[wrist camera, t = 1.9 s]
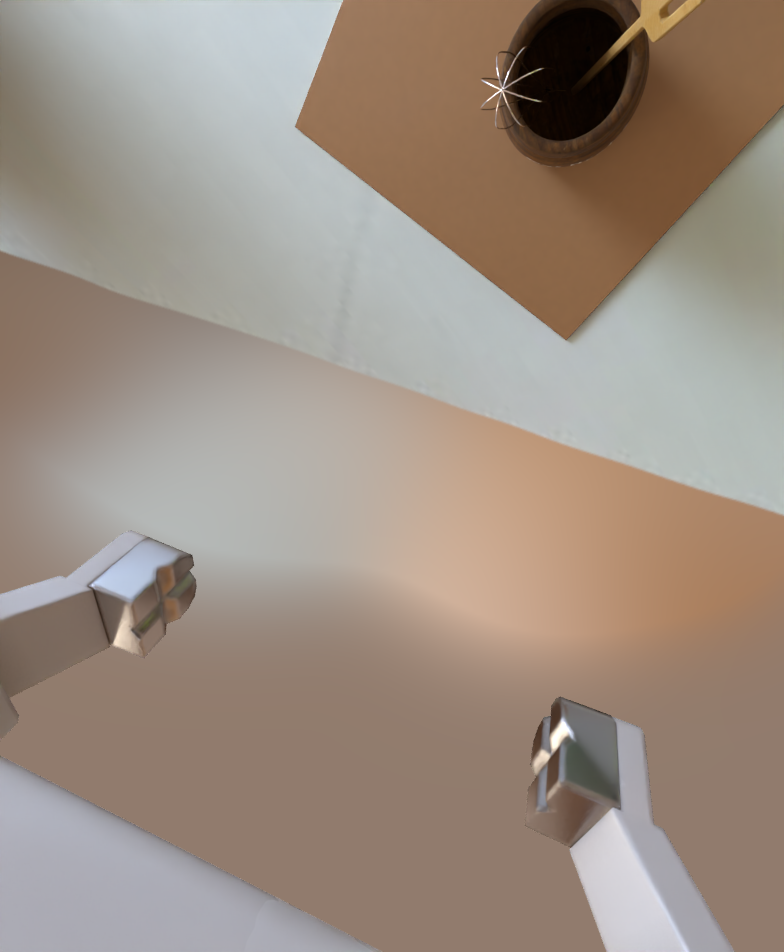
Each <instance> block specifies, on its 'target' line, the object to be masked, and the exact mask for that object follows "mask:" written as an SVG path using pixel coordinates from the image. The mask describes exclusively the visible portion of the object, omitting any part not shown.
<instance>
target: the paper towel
mask: <svg viewBox="0 0 784 952" xmlns="http://www.w3.org/2000/svg"><path fill="white" fill-rule="evenodd" d="M539 1H540V0H343V2H342V5H341V7H340V10H339V13H338V15H337V18H336V20H335V23H334V26H333V28H332V31H331V34H330V36H329V39H328V41H327V44H326V47H325V49H324V52H323V55H322V57H321V60H320V62H319V65H318V68H317V70H316V73H315V76H314V78H313V81H312V83H311V86H310V89H309V91H308V94H307V97H306V99H305V102H304V105H303V107H302V110H301V112H300V115H299V118H298V120H297V123H296V126H295V127H296V128H297V129H298V130H300V131H301V132H302V133H304V134H305V135H306V136H307V137H309V138H310V139H311V140H312V141H314V142H315V143H316V144H318V145H319V146H320V147H321V148H323V149H324V150H325V151H326V152H328V153H329V154H330V155H332V156H333V157H334V158H335V159H337V160H338V161H339V162H340V163H342V164H343V165H344V166H345V167H347V168H348V169H349V170H351V171H352V172H353V173H354V174H356V175H357V176H358V177H359V178H361V179H362V180H363V181H365V182H366V183H367V184H368V185H370V186H371V187H372V188H373V189H375V190H376V191H377V192H379V193H380V194H381V195H382V196H384V197H385V198H386V199H387V200H389V201H390V202H391V203H392V204H394V205H395V206H396V207H398V208H399V209H400V210H401V211H403V212H404V213H405V214H406V215H408V216H409V217H410V218H412V219H413V220H414V221H415V222H417V223H418V224H419V225H420V226H422V227H423V228H424V229H426V230H427V231H428V232H429V233H431V234H432V235H433V236H434V237H436V238H437V239H438V240H439V241H441V242H442V243H443V244H445V245H446V246H447V247H448V248H450V249H451V250H452V251H453V252H455V253H456V254H457V255H459V256H460V257H461V258H462V259H464V260H465V261H466V262H467V263H469V264H470V265H471V266H472V267H474V268H475V269H476V270H478V271H479V272H480V273H481V274H483V275H484V276H485V277H486V278H488V279H489V280H490V281H492V282H493V283H494V284H495V285H497V286H498V287H499V288H500V289H502V290H503V291H504V292H506V293H507V294H508V295H509V296H511V297H512V298H513V299H514V300H516V301H517V302H518V303H519V304H521V305H522V306H523V307H525V308H526V309H527V310H528V311H530V312H531V313H532V314H533V315H535V316H536V317H537V318H539V319H540V320H541V321H542V322H544V323H545V324H546V325H547V326H549V327H550V328H551V329H553V330H554V331H555V332H556V333H558V334H559V335H560V336H561V337H563V338H564V339H565V340H567V339H568V338H569V337H570V336H571V335H572V333H573V332H574V331H575V330H576V329H577V328H578V327H579V326H580V325H581V324H582V323H583V322H584V320H585V319H586V318H587V317H588V316H589V315H590V314H591V313H592V312H593V311H594V310H595V308H596V307H597V306H598V305H599V304H600V303H601V302H602V301H603V300H604V299H605V298H606V297H607V295H608V294H609V293H610V292H611V291H612V290H613V289H614V288H615V287H616V286H617V285H618V284H619V282H620V281H621V280H622V279H623V278H624V277H625V276H626V275H627V274H628V273H629V272H630V271H631V269H632V268H633V267H634V266H635V265H636V264H637V263H638V262H639V261H640V260H641V259H642V258H643V256H644V255H645V254H646V253H647V252H648V251H649V250H650V249H651V248H652V247H653V246H654V245H655V243H656V242H657V241H658V240H659V239H660V238H661V237H662V236H663V235H664V234H665V233H666V232H667V230H668V229H669V228H670V227H671V226H672V225H673V224H674V223H675V222H676V221H677V220H678V219H679V217H680V216H681V215H682V214H683V213H684V212H685V211H686V210H687V209H688V208H689V207H690V206H691V204H692V203H693V202H694V201H695V200H696V199H697V198H698V197H699V196H700V195H701V194H702V193H703V191H704V190H705V189H706V188H707V187H708V186H709V185H710V184H711V183H712V182H713V181H714V180H715V178H716V177H717V176H718V175H719V174H720V173H721V172H722V171H723V170H724V169H725V168H726V167H727V165H728V164H729V163H730V162H731V161H732V160H733V159H734V158H735V157H736V156H737V155H738V154H739V152H740V151H741V150H742V149H743V148H744V147H745V146H746V145H747V144H748V143H749V142H750V141H751V139H752V138H753V137H754V136H755V135H756V134H757V133H758V132H759V131H760V130H761V129H762V128H763V126H764V125H765V124H766V123H767V122H768V121H769V120H770V119H771V118H772V117H773V116H774V115H775V113H776V112H777V111H778V110H779V109H780V108H781V107H782V106H783V105H784V0H705V1H704V2H703V3H702V4H701V5H700V6H699V7H698V8H697V9H695V10H694V11H693V12H692V13H691V14H690V15H689V16H687V17H686V18H685V19H684V20H683V21H682V22H681V23H679V24H678V25H677V26H676V27H675V28H674V29H673V30H671V31H670V32H669V33H668V34H667V35H666V36H665V37H663V38H662V39H660V40H659V41H657V42H655V43H654V42H652V41H651V39H650V38H649V36H648V41H649V55H650V58H649V70H648V76H647V81H646V85H645V89H644V92H643V95H642V97H641V100H640V102H639V105H638V107H637V109H636V111H635V113H634V115H633V116H632V118H631V120H630V121H629V123H628V124H627V126H626V127H625V128H624V130H623V131H622V132H621V133H620V135H619V136H618V137H617V138H616V139H615V140H614V141H613V142H612V143H611V144H610V145H609V146H608V147H607V148H605V149H604V150H603V151H601V152H600V153H599V154H597V155H596V156H594V157H592V158H590V159H588V160H586V161H584V162H582V163H579V164H576V165H572V166H567V167H549V166H544V165H541V164H538V163H535V162H533V161H531V160H530V159H528V158H527V157H525V156H524V155H523V154H522V153H520V152H519V151H518V150H517V148H516V147H515V146H514V145H513V143H512V142H511V140H510V139H509V137H508V135H507V133H506V131H505V129H503V130H499V129H497V128H496V126H495V115H496V109H495V110H480V108H481V106H482V105H483V103H485V102H486V101H487V100H488V99H489V98H490V97H492V96H493V95H494V94H496V93H497V92H499V89H497V88H495V87H492V86H490V85H488V84H486V83H484V82H482V81H481V80H480V78H496V79H499V78H498V74H497V68H496V56H497V53H498V52H499V51H507V50H508V48H509V45H510V42H511V40H512V38H513V36H514V34H515V32H516V30H517V29H518V27H519V25H520V24H521V22H522V21H523V20H524V18H525V17H526V15H527V14H528V13H529V12H530V10H531V9H532V8H533V7H534V6H535V5H536V4H537V3H538V2H539ZM632 1H633V3H634V4H635V6H636V7H637V9H638V11H639V13H640V15H641V0H632ZM686 1H687V0H673V1H672V2H671V3H670V4H669V6H668V12H669V16H670V15H671V14H673V13H674V12H675V11H676V10H677V9H678V8H679V7H680V6H682V5H683V4H684V3H685V2H686ZM647 35H648V34H647ZM505 56H506V53H499V54H498V59H497V63H498V71H499V76H500V75H501V70H502V66H503V62H504V59H505ZM482 80H484V81H486V82H488V83H490V84H492V85H494V86H497V87H499V81H498V80H491V79H482ZM498 101H499V93H498V94H497V95H496V96H494V97H493V98H492V99H490V100H489V101H488V102H487V103H486V104H485V105H484V106H483V107H482V109H492V108H497V104H498ZM498 107H499V106H498ZM496 123H497V127H498V128H504V126H503V123H502V119H501V115H500V109H499V108H498V111H497V118H496Z"/></svg>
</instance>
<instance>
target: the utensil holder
mask: <svg viewBox="0 0 784 952" xmlns="http://www.w3.org/2000/svg"><path fill="white" fill-rule="evenodd" d="M672 1H673V0H641V15H640V13H639V11H638V9H637V7H636V6H635V4H634V3H633V1H632V0H540V1H539V2H538V3H537V4H536V5H535V6H534V7H533V8H532V9H531V10H530V12H529V13H528V14H527V15H526V17H525V18H524V20H523V21H522V22H521V24H520V25H519V27H518V29H517V30H516V32H515V34H514V36H513V38H512V40H511V42H510V45H509V48H508V50H507V51H499V52H498V53H497V56H496V68H497V74H498V78H499V79H496V78H480V80H481V81H482V82H484V83H486V84H488V85H490V86H492V87H495V88H497V89H499V92H497V93H496V94H494V95H493V96H492V97H490V98H489V99H488V100H487V101H486V102H485V103H483V105H482V106H481V108H480V110H495V109H496V115H495V126H496V128H497V129H499V130H503V129H505V131H506V133H507V135H508V137H509V139H510V140H511V142H512V143H513V145H514V146H515V147H516V148H517V150H518V151H519V152H520V153H522V154H523V155H524V156H525V157H527V158H528V159H530V160H531V161H533V162H535V163H538V164H541V165H544V166H549V167H567V166H572V165H576V164H579V163H582V162H584V161H586V160H588V159H590V158H592V157H594V156H596V155H597V154H599V153H600V152H601V151H603V150H604V149H605V148H607V147H608V146H609V145H610V144H611V143H612V142H613V141H614V140H615V139H616V138H617V137H618V136H619V135H620V133H621V132H622V131H623V130H624V128H625V127H626V126H627V124H628V123H629V121H630V120H631V118H632V116H633V115H634V113H635V111H636V109H637V107H638V105H639V102H640V100H641V97H642V95H643V92H644V89H645V85H646V81H647V76H648V70H649V58H650V55H649V41H648V36H649V38H650V39H651V41H652V42H654V43H655V42H657V41H659V40H660V39H662V38H663V37H665V36H666V35H667V34H668V33H669V32H670V31H671V30H673V29H674V28H675V27H676V26H677V25H678V24H679V23H681V22H682V21H683V20H684V19H685V18H686V17H687V16H689V15H690V14H691V13H692V12H693V11H694V10H695V9H697V8H698V7H699V6H700V5H701V4H702V3H703V2H704V1H705V0H687V1H686V2H685V3H684V4H683V5H682V6H680V7H679V8H678V9H677V10H676V11H675V12H674V13H673V14H671V15H670V16H669V12H668V6H669V4H670V3H671V2H672ZM647 34H648V35H647ZM499 53H506V56H505V59H504V62H503V66H502V70H501V75H500V76H499V71H498V63H497V59H498V54H499ZM482 79H491V80H498V81H499V87H497V86H494V85H492V84H490V83H488V82H486V81H484V80H482ZM498 93H499V101H498V104H497V108H492V109H482V107H483V106H484V105H485V104H486V103H487V102H488V101H489V100H490V99H492V98H493V97H494V96H496V95H497V94H498ZM498 106H499V107H498ZM498 108H499V109H500V115H501V119H502V123H503V126H504V128H498V127H497V123H496V118H497V111H498Z"/></svg>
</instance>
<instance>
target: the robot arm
mask: <svg viewBox="0 0 784 952" xmlns="http://www.w3.org/2000/svg"><path fill="white" fill-rule="evenodd" d="M193 566H194V562H193V557H192V555H191V554H188V553H186V552H183V551H181V550H179V549H176V548H174V547H171V546H169V545H166V544H164V543H162V542H159V541H156V540H154V539H152V538H150V537H147V536H145V535H142V534H139V533H137V532H134V531H132V530H131V531H128V532H125V533H122V534H121V535H120V536H118V537H117V538H116V539H114V540H113V541H112V542H111V543H110V544H108V545H107V546H106V547H104V548H103V549H102V550H101V551H99V552H98V553H97V554H96V555H94V556H93V557H92V558H90V559H89V560H88V561H87V562H85V563H84V564H83V565H82V566H80V567H79V568H78V569H77V570H75V571H74V572H73V573H72V574H70V575H69V576H68V577H67V578H65V577H62V576H58V577H55V578H51V579H48V580H45V581H42V582H38V583H35V584H32V585H29V586H26V587H22V588H19V589H16V590H13V591H9V592H6V593H3V594H0V740H1V739H2V738H3V737H4V736H5V735H6V734H7V733H8V732H9V731H10V730H11V729H12V728H13V727H14V726H15V725H16V724H17V723H18V718H19V714H18V713H17V711H16V709H15V707H14V706H13V704H12V702H11V700H10V697H12V696H14V695H16V694H18V693H20V692H22V691H24V690H26V689H28V688H30V687H32V686H34V685H36V684H38V683H39V682H42V681H44V680H46V679H47V678H49V677H52V676H54V675H55V674H58V673H60V672H62V671H64V670H66V669H68V668H70V667H71V666H73V665H75V664H77V663H79V662H81V661H83V660H85V659H87V658H89V657H91V656H93V655H95V654H97V653H99V652H101V651H103V650H105V649H107V648H109V647H110V645H112V646H114V647H117V648H120V649H122V650H124V651H127V652H129V653H132V654H134V655H137V656H139V657H142V658H145V657H146V656H147V655H148V653H149V652H150V651H151V650H152V649H153V648H154V647H155V645H156V644H157V643H158V642H159V641H160V640H161V639H162V638H163V637H164V636H165V635H166V625H167V624H168V623H170V622H173V621H175V620H178V619H180V618H181V616H182V615H183V614H184V613H185V612H186V611H187V609H188V608H189V606H190V604H191V602H192V600H193V598H194V597H195V592H196V579H195V578H194V576H193V575H192V574H191V572H190V571H189V570H190V569H191V568H192V567H193ZM530 765H531V767H532V769H533V772H534V774H535V776H536V778H535V780H534V781H533V782H532V784H531V785H530V787H529V788H528V795H527V808H526V819H525V826H526V827H528V828H530V829H532V830H534V831H536V832H539V833H541V834H543V835H545V836H547V837H549V838H552V839H553V840H556V841H558V842H560V843H562V844H564V845H566V846H568V847H570V848H571V849H570V853H571V856H572V858H573V861H574V864H575V866H576V869H577V872H578V875H579V877H580V880H581V883H582V886H583V888H584V891H585V894H586V897H587V899H588V902H589V905H590V907H591V910H592V913H593V916H594V918H595V921H596V924H597V927H598V929H599V932H600V935H601V938H602V940H603V943H604V946H605V948H606V951H607V952H735V951H734V950H733V948H732V946H731V944H730V943H729V941H728V940H727V938H726V936H725V934H724V933H723V931H722V929H721V927H720V926H719V924H718V922H717V920H716V919H715V917H714V915H713V914H712V912H711V910H710V908H709V907H708V905H707V903H706V902H705V900H704V898H703V896H702V895H701V893H700V891H699V890H698V888H697V886H696V884H695V883H694V881H693V879H692V878H691V876H690V874H689V872H688V871H687V869H686V867H685V865H684V864H683V862H682V860H681V859H680V857H679V855H678V853H677V852H676V850H675V848H674V847H673V845H672V843H671V841H670V840H669V838H668V836H667V835H666V833H665V831H664V829H662V828H661V827H658V826H656V825H654V818H653V809H652V799H651V790H650V781H649V772H648V763H647V753H646V745H645V735H644V733H643V731H642V729H641V728H640V727H638V726H635V725H633V724H630V723H627V722H625V721H622V720H619V719H616V718H613V717H611V715H608V714H606V713H603V712H600V711H597V710H595V709H592V708H589V707H587V706H584V705H581V704H579V703H576V702H573V701H571V700H567V699H565V698H562V697H559V698H556V700H555V701H554V703H553V704H552V706H551V716H548V717H544V718H543V720H542V721H541V723H540V725H539V727H538V729H537V732H536V735H535V738H534V741H533V747H532V753H531V763H530ZM0 952H382V951H380V950H378V949H376V948H374V947H372V946H370V945H368V944H367V943H364V942H363V941H360V940H359V939H357V938H355V937H353V936H351V935H349V934H347V933H345V932H343V931H341V930H339V929H337V928H335V927H333V926H331V925H329V924H328V923H326V922H324V921H321V920H320V919H318V918H315V917H314V916H312V915H310V914H308V913H306V912H304V911H302V910H300V909H298V908H296V907H294V906H292V905H291V904H288V903H287V902H285V901H283V900H281V899H279V898H277V897H275V896H273V895H270V894H269V893H267V892H265V891H263V890H261V889H259V888H257V887H255V886H253V885H252V884H250V883H247V882H246V881H244V880H242V879H240V878H238V877H236V876H234V875H232V874H230V873H228V872H226V871H224V870H222V869H220V868H218V867H216V866H214V865H212V864H211V863H208V862H206V861H205V860H203V859H201V858H199V857H197V856H195V855H193V854H191V853H189V852H187V851H185V850H183V849H181V848H179V847H177V846H175V845H173V844H172V843H170V842H167V841H166V840H163V839H162V838H160V837H158V836H156V835H154V834H152V833H150V832H148V831H146V830H144V829H142V828H140V827H138V826H136V825H135V824H132V823H131V822H129V821H127V820H125V819H123V818H121V817H119V816H117V815H115V814H113V813H111V812H109V811H107V810H105V809H103V808H101V807H99V806H97V805H95V804H94V803H92V802H90V801H88V800H86V799H84V798H82V797H80V796H78V795H76V794H74V793H72V792H70V791H68V790H66V789H64V788H62V787H60V786H58V785H56V784H54V783H52V782H51V781H48V780H47V779H45V778H43V777H41V776H39V775H37V774H35V773H33V772H31V771H29V770H27V769H25V768H23V767H21V766H19V765H17V764H16V763H14V762H11V761H10V760H8V759H6V758H4V757H2V756H0Z"/></svg>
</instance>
